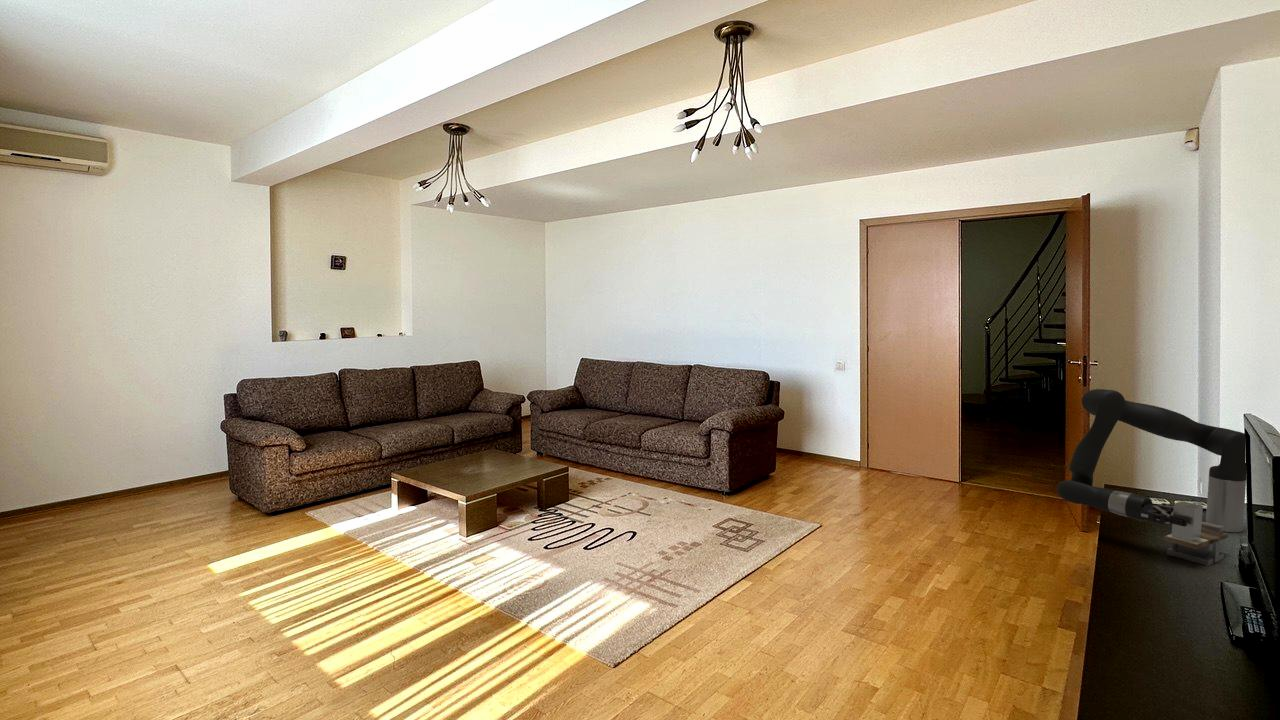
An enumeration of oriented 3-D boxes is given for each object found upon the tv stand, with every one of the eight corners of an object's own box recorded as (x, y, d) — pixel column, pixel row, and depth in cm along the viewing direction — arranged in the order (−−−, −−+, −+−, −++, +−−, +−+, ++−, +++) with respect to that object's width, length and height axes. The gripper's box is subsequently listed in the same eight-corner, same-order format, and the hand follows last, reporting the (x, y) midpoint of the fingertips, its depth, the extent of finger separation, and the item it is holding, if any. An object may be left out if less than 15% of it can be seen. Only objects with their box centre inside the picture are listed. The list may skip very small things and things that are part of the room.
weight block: (1179, 533, 192) (1182, 501, 191) (1200, 539, 188) (1202, 505, 187) (1171, 536, 190) (1174, 503, 189) (1192, 542, 185) (1195, 508, 184)
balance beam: (1194, 529, 200) (1195, 519, 200) (1227, 537, 193) (1228, 527, 193) (1163, 540, 190) (1164, 529, 190) (1197, 549, 183) (1197, 538, 183)
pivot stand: (1181, 547, 199) (1182, 527, 198) (1224, 558, 190) (1225, 537, 189) (1165, 553, 194) (1167, 533, 194) (1208, 566, 185) (1210, 544, 185)
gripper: (1118, 497, 197) (1183, 512, 183) (1141, 490, 204) (1205, 503, 190) (1117, 521, 198) (1181, 537, 184) (1140, 512, 205) (1204, 528, 191)
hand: (1193, 520), depth 187 cm, fingers open, 8 cm apart
